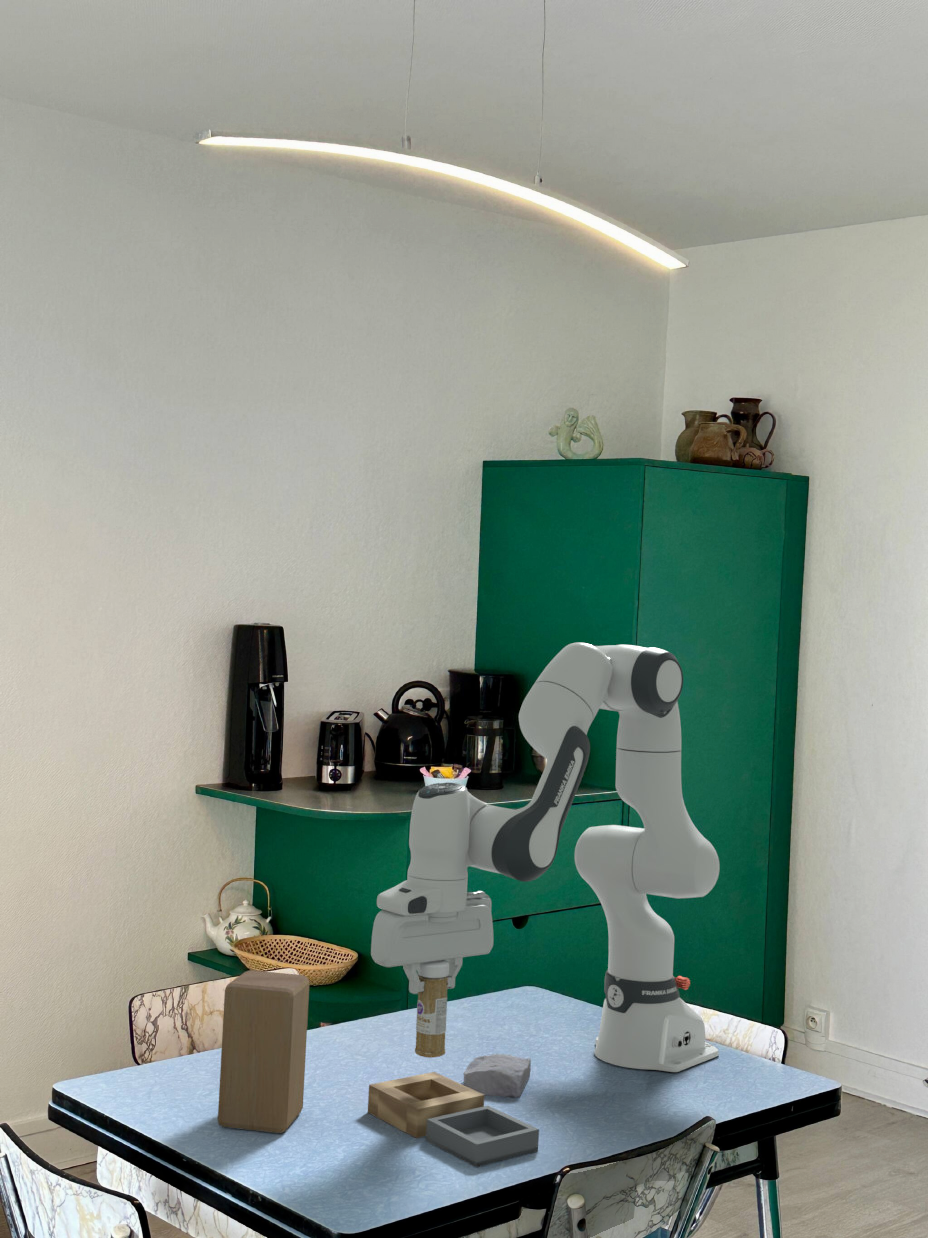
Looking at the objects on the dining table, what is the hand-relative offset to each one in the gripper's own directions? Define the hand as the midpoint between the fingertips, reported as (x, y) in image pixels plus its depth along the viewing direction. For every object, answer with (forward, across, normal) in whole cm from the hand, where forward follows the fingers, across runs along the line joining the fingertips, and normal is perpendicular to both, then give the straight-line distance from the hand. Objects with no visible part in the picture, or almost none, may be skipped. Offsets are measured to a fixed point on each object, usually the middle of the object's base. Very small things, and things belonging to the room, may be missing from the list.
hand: (431, 990), depth 196 cm
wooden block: (+19, +21, -11) cm, 30 cm away
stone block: (+19, -19, -7) cm, 28 cm away
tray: (+18, 0, +13) cm, 23 cm away
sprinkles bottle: (+9, 0, 0) cm, 9 cm away
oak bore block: (+18, 0, 0) cm, 18 cm away
